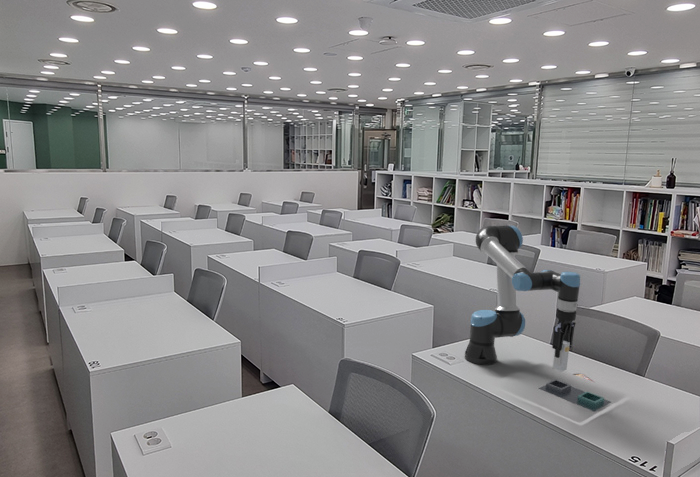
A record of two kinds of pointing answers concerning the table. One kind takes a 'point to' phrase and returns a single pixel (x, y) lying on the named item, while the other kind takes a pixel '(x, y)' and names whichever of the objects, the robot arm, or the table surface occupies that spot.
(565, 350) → the plug
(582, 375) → the smartphone
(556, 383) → the panel
